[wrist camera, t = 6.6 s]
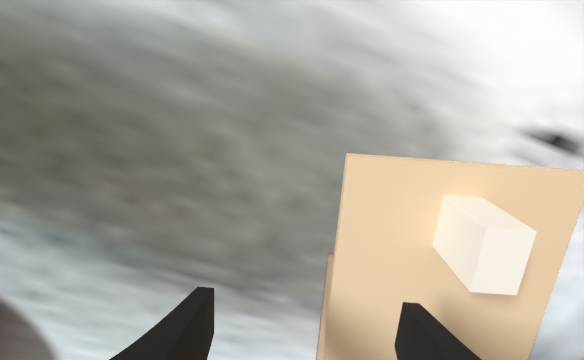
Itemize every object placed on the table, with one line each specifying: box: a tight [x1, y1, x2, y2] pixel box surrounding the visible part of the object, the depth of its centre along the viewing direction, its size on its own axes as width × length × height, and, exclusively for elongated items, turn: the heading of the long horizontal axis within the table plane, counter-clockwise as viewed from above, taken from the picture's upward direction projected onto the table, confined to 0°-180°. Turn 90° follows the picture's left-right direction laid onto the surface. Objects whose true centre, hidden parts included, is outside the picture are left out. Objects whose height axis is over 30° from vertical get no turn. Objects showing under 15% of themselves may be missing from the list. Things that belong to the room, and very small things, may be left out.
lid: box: [322, 153, 584, 360], centre depth 17 cm, size 14×12×5 cm
